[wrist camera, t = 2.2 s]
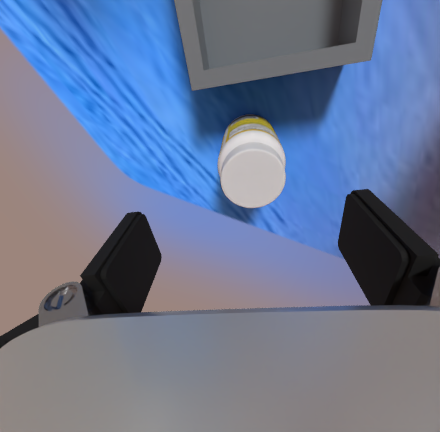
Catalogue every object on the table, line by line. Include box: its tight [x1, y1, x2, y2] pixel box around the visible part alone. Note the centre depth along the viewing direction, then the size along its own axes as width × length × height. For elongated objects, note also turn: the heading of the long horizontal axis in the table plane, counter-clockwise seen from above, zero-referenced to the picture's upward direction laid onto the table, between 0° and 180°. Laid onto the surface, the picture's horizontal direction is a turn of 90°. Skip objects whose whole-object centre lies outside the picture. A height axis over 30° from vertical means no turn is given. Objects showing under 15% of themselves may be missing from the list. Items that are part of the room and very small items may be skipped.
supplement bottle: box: [218, 114, 286, 208], centre depth 17 cm, size 5×5×8 cm
